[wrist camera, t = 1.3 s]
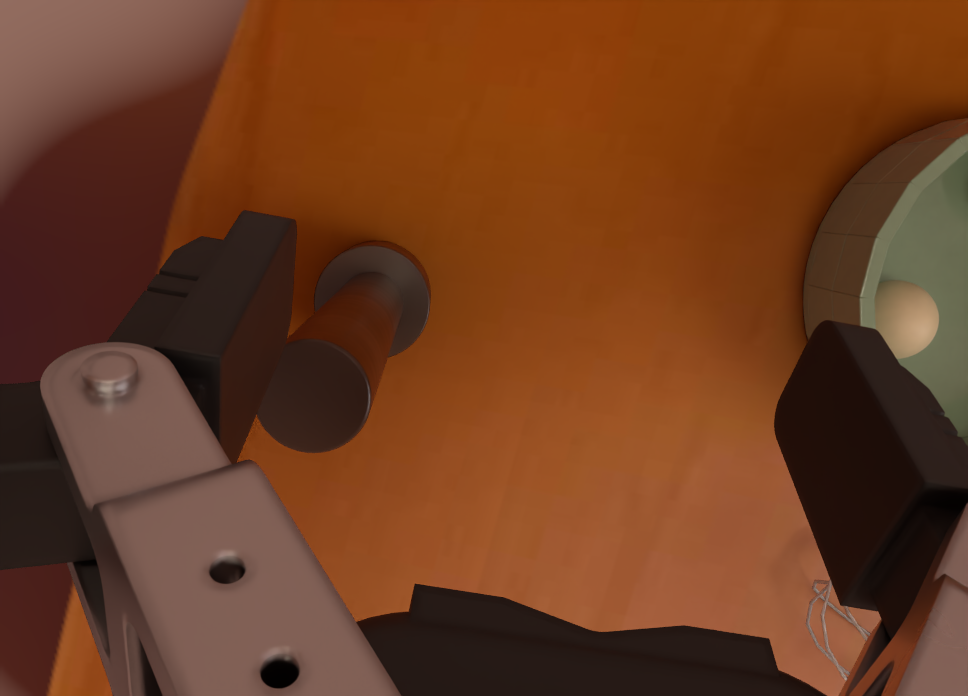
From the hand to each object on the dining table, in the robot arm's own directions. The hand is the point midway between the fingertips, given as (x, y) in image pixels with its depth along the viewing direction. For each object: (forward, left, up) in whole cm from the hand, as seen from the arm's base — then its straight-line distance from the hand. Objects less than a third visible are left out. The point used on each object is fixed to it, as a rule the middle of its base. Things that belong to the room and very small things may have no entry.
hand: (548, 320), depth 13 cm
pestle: (+2, -5, -22) cm, 23 cm away
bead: (+5, +16, -20) cm, 26 cm away
